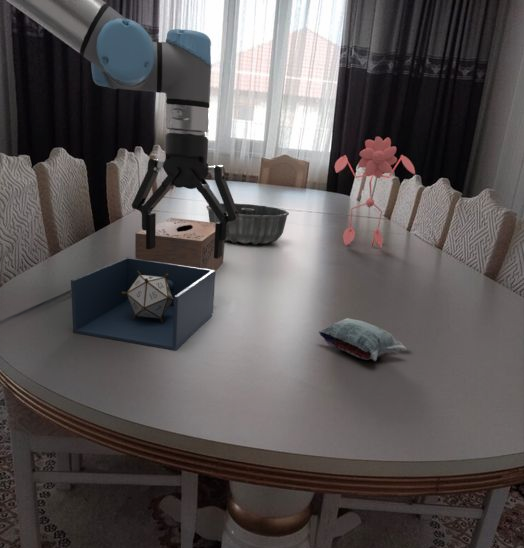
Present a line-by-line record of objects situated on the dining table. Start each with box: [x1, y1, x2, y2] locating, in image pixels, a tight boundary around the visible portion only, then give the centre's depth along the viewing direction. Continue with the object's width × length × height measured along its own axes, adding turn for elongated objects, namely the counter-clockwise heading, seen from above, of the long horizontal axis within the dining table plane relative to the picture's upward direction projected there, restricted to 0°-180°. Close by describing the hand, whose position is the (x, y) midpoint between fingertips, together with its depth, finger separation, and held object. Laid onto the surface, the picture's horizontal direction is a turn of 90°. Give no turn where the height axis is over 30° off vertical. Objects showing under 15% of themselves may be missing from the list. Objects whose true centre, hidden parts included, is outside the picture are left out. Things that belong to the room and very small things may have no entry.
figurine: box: [334, 136, 416, 254], centre depth 168 cm, size 15×26×35 cm, turn 94°
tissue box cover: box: [134, 217, 226, 272], centre depth 123 cm, size 26×14×10 cm, turn 173°
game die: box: [121, 270, 174, 323], centre depth 88 cm, size 9×8×10 cm
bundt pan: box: [205, 202, 290, 246], centre depth 167 cm, size 26×26×10 cm
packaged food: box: [318, 317, 407, 362], centre depth 84 cm, size 9×12×5 cm
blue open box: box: [70, 257, 216, 351], centre depth 92 cm, size 30×17×8 cm, turn 168°
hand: (183, 252), depth 99 cm, fingers open, 13 cm apart
